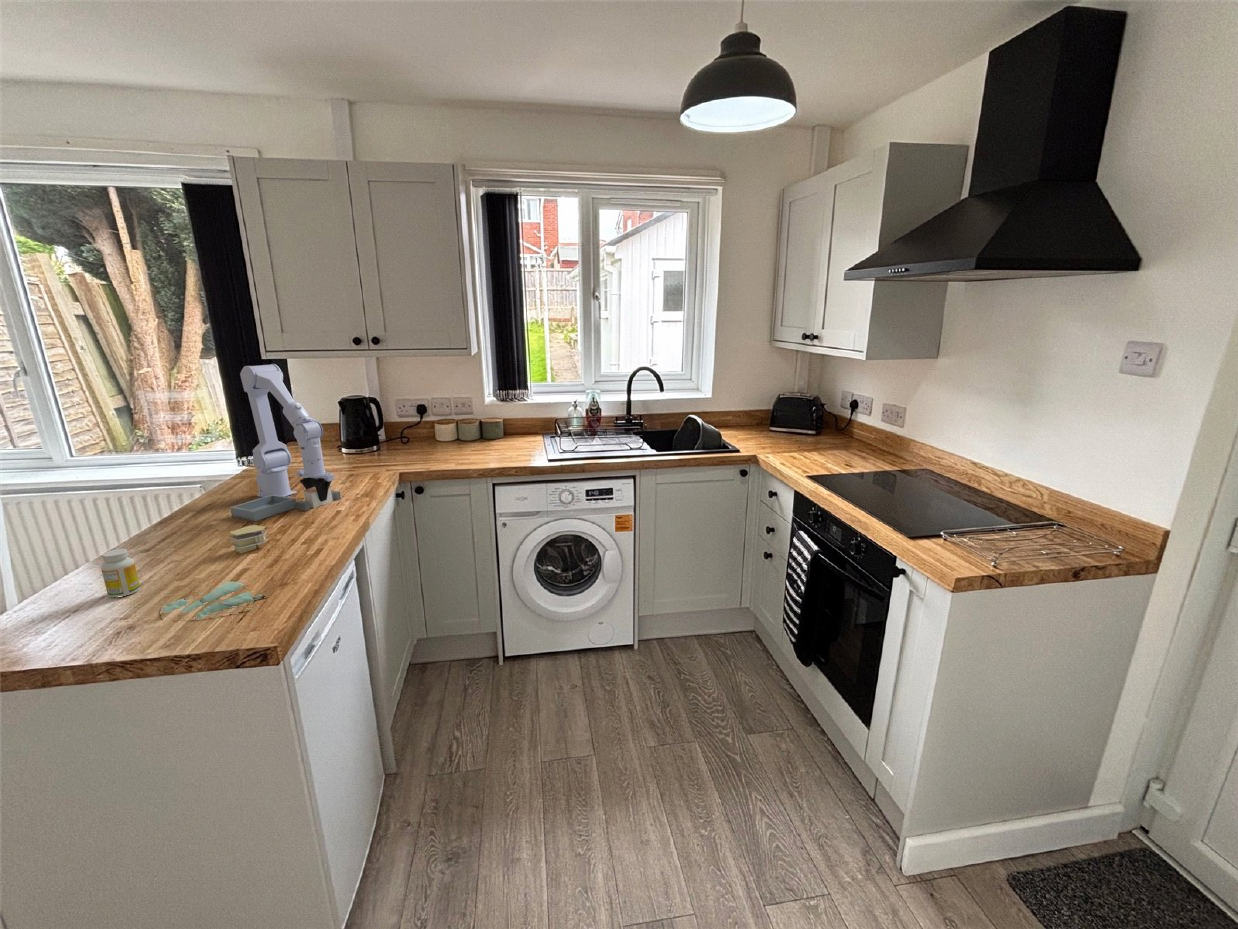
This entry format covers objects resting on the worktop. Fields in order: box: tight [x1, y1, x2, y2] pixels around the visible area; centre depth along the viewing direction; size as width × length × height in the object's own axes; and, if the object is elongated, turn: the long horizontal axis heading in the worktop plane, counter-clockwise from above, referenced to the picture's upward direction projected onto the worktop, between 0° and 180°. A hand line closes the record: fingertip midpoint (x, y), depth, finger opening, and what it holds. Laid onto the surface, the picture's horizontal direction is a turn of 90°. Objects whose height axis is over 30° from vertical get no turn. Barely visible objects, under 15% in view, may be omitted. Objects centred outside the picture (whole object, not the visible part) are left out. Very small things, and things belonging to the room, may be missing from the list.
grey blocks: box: [296, 489, 342, 512], centre depth 176 cm, size 4×13×2 cm, turn 157°
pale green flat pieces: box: [162, 580, 267, 619], centre depth 116 cm, size 20×22×2 cm
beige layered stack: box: [229, 524, 268, 554], centre depth 142 cm, size 10×9×6 cm
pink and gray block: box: [303, 485, 334, 509], centre depth 176 cm, size 4×7×6 cm, turn 157°
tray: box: [229, 495, 297, 522], centre depth 169 cm, size 11×14×3 cm
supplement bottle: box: [100, 548, 141, 598], centre depth 118 cm, size 5×5×10 cm
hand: (318, 499), depth 176 cm, fingers closed on pink and gray block, 3 cm apart
